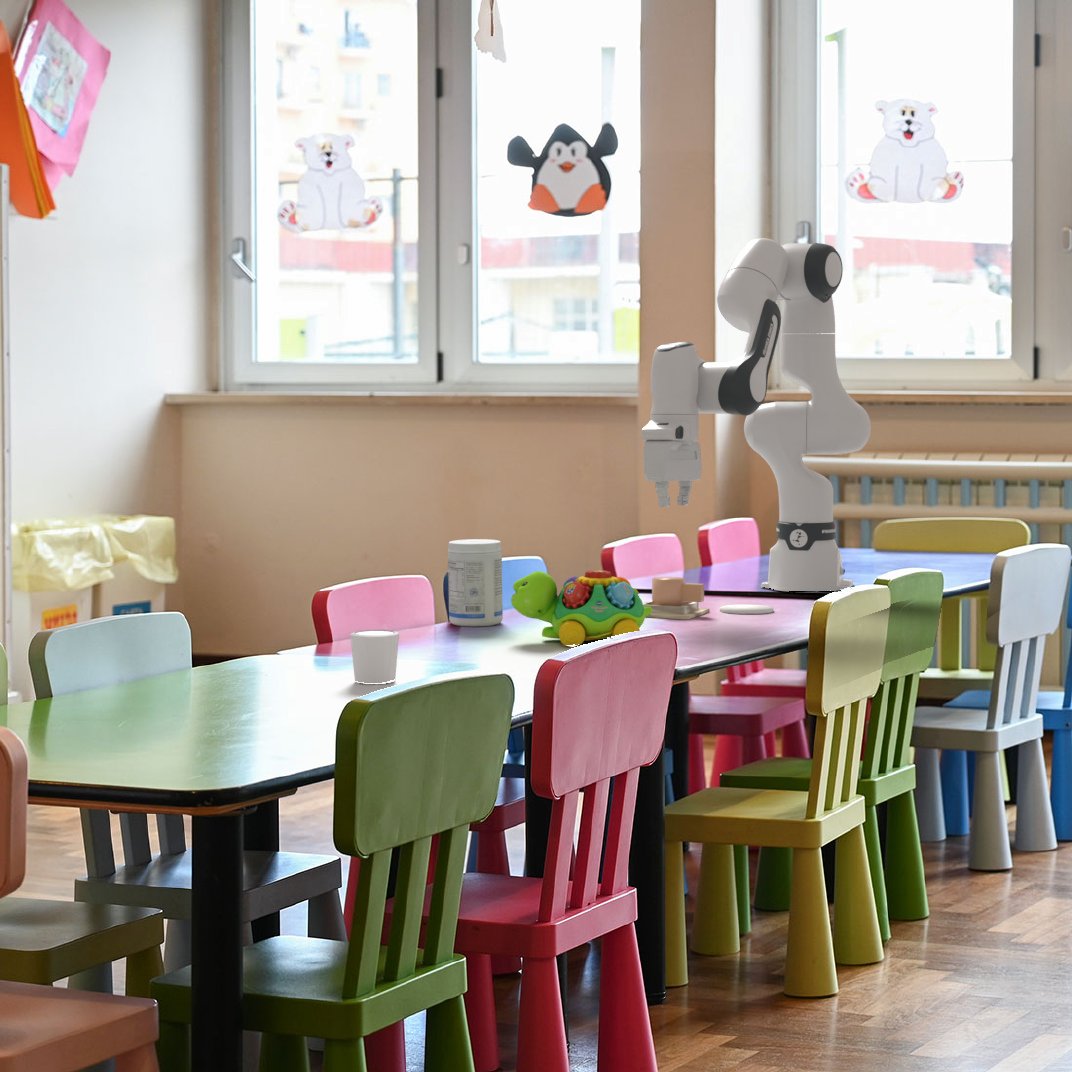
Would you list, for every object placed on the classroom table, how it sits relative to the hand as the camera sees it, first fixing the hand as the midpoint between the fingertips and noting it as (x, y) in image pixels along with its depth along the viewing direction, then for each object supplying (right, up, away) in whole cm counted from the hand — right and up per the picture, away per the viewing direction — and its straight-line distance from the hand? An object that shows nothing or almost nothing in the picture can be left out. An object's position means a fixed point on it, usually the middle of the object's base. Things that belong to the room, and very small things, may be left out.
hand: (673, 506), depth 316 cm
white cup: (-48, -26, -74) cm, 92 cm away
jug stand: (-1, -20, +1) cm, 20 cm away
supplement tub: (-36, -21, -12) cm, 43 cm away
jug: (+1, -19, +1) cm, 19 cm away
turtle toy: (-18, -23, -33) cm, 44 cm away
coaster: (+14, -20, +6) cm, 25 cm away
